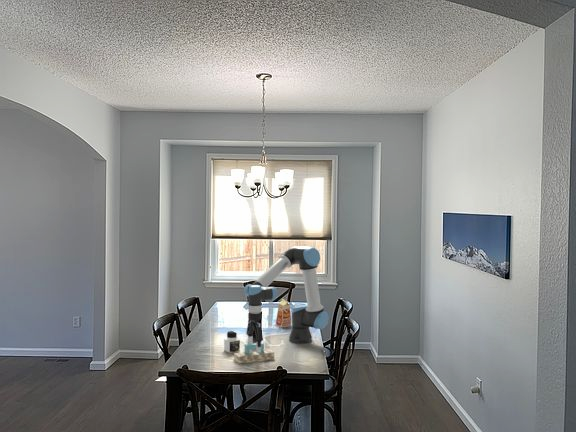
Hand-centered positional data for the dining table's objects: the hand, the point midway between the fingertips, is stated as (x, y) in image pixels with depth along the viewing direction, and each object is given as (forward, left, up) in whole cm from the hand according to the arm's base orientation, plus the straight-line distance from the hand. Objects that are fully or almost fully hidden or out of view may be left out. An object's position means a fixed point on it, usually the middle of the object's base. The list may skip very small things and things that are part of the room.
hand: (254, 350), depth 315 cm
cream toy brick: (0, 0, -6) cm, 6 cm away
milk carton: (-56, -74, -6) cm, 93 cm away
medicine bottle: (+5, -23, -6) cm, 24 cm away
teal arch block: (0, 0, -5) cm, 5 cm away
